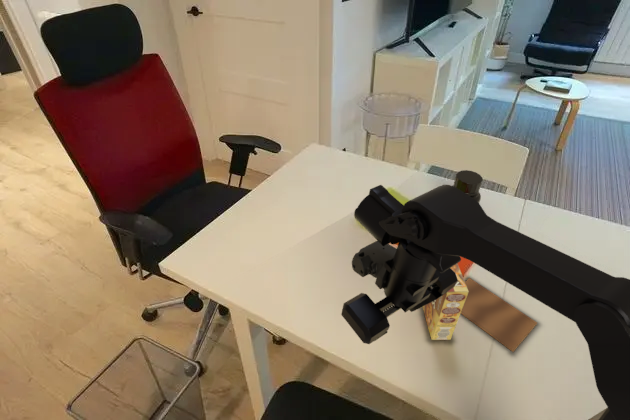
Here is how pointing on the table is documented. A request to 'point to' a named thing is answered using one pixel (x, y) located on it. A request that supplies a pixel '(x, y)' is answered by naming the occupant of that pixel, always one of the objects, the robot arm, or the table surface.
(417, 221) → the robot arm
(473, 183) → the ink bottle
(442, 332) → the candy box
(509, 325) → the cork mat
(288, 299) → the table surface
